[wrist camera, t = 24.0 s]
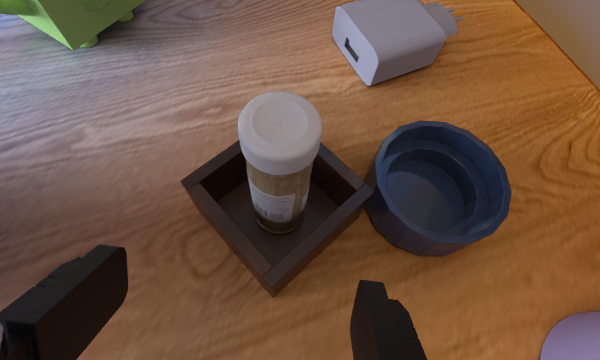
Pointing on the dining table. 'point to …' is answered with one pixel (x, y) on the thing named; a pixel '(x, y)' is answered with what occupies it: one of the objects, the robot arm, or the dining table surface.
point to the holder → (258, 242)
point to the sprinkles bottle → (279, 156)
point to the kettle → (71, 17)
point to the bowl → (436, 189)
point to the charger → (391, 36)
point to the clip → (574, 338)
